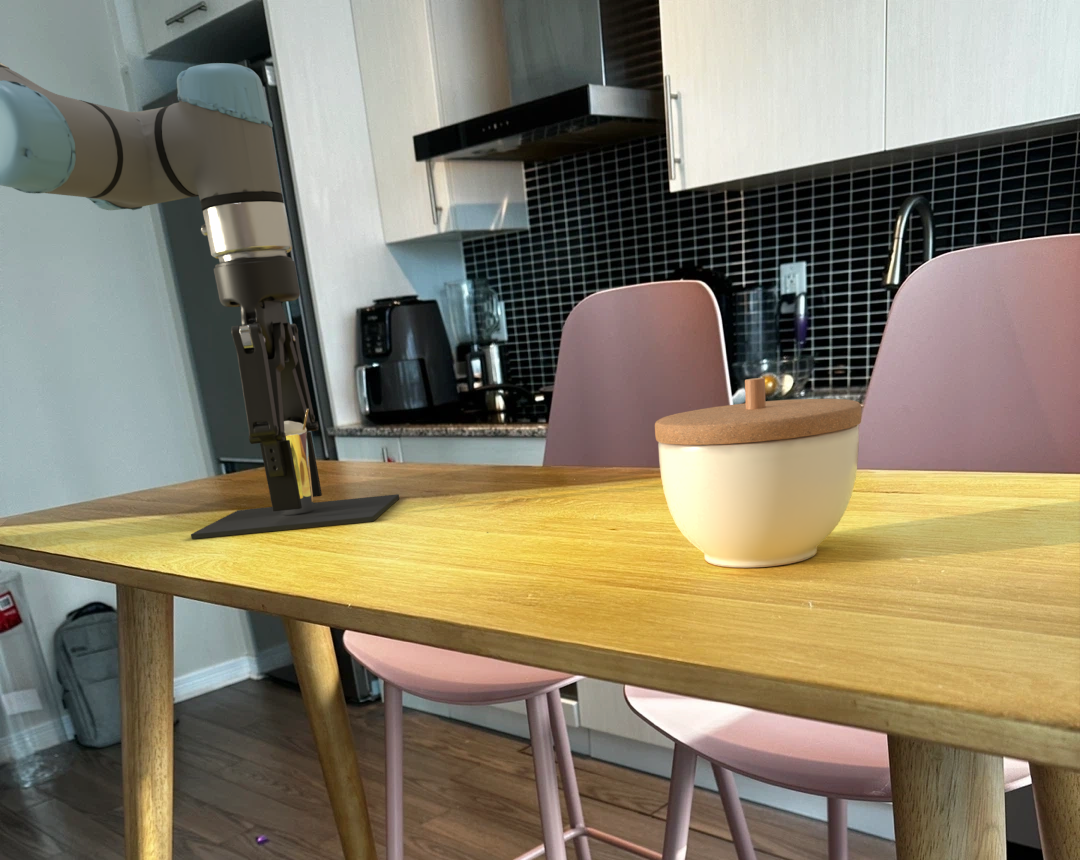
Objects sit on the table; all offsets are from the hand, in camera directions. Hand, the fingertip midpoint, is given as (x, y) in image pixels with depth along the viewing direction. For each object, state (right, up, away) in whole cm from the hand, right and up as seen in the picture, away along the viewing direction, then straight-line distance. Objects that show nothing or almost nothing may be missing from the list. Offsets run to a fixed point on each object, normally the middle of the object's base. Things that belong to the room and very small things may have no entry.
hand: (298, 502), depth 105 cm
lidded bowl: (+39, -12, -37) cm, 55 cm away
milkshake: (0, -1, +1) cm, 1 cm away
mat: (0, -1, +1) cm, 2 cm away
